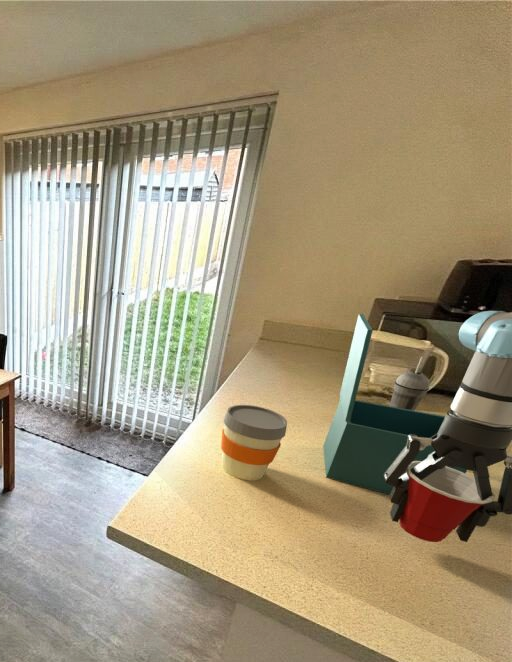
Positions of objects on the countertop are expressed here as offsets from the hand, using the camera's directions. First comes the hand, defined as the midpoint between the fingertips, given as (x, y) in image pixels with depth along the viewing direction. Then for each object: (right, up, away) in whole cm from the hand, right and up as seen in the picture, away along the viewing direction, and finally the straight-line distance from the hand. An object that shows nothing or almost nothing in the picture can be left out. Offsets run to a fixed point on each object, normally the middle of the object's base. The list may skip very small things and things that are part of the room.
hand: (426, 526), depth 72 cm
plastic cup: (0, -1, +1) cm, 1 cm away
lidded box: (+13, +4, +23) cm, 27 cm away
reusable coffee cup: (-18, +5, +26) cm, 32 cm away
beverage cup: (+42, +15, +47) cm, 65 cm away
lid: (+4, +30, +18) cm, 36 cm away
